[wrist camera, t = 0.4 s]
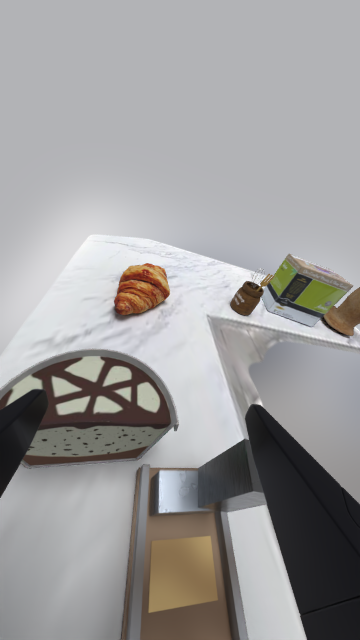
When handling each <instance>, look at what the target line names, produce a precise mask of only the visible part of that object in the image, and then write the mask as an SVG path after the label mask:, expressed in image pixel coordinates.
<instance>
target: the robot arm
mask: <svg viewBox="0 0 360 640" xmlns="http://www.w3.org/2000/svg"><path fill="white" fill-rule="evenodd" d="M48 405H49V401H48V397H47V393H46V390H44V389H32V390H30V391H29V392H27V393H26V394H24V395H23V396H21V397H20V398H18V399H16V400H15V401H13V402H12V403H10V404H9V405H7V406H6V407H4V408H2V409H1V410H0V498H1V496H2V494H3V492H4V491H5V489H6V487H7V486H8V484H9V482H10V480H11V479H12V477H13V475H14V473H15V472H16V470H17V468H18V467H19V465H20V463H21V461H22V460H23V458H24V456H25V454H26V453H27V451H28V449H29V447H30V445H31V443H32V441H33V439H34V437H35V434H36V432H37V430H38V428H39V426H40V424H41V421H42V419H43V417H44V415H45V413H46V411H47V408H48ZM245 421H246V426H247V431H248V436H249V441H250V446H251V451H252V455H253V459H254V462H255V466H256V469H257V473H258V476H259V479H260V483H261V486H262V489H263V493H264V496H265V499H266V503H267V506H268V509H269V513H270V516H271V519H272V523H273V526H274V530H275V533H276V536H277V540H278V543H279V546H280V550H281V553H282V556H283V560H284V563H285V566H286V570H287V573H288V576H289V580H290V583H291V587H292V590H293V593H294V597H295V600H296V603H297V607H298V610H299V613H300V614H301V615H300V617H301V621H302V624H303V627H304V631H305V634H306V637H307V640H360V504H359V503H358V502H357V501H356V500H355V499H354V498H353V497H352V496H351V495H350V494H349V493H348V492H347V491H346V490H345V489H344V488H342V487H341V486H340V484H339V483H338V482H337V481H336V480H335V479H334V478H333V477H332V476H331V475H330V474H329V473H328V472H327V471H326V470H325V469H324V468H323V467H322V466H321V465H320V464H319V463H318V462H317V461H316V460H315V459H314V458H313V457H312V456H311V455H310V454H309V453H308V452H307V451H306V450H305V449H304V448H303V447H302V446H301V445H300V444H299V443H298V442H297V441H296V440H295V439H294V438H293V437H292V436H291V435H290V434H289V433H288V432H287V431H286V430H285V429H284V428H283V427H282V426H281V425H280V424H279V423H278V422H277V421H276V420H275V419H274V418H273V417H272V416H271V415H270V414H269V413H268V412H267V411H266V410H265V409H264V408H263V407H262V406H261V405H258V404H252V405H250V407H249V409H248V411H247V413H246V416H245Z"/></svg>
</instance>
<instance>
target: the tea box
mask: <svg viewBox="0 0 360 640" xmlns="http://www.w3.org/2000/svg"><path fill="white" fill-rule="evenodd" d="M274 276H275V277H274V278H273V279H272V280H271V281H270V282H269V283H268V285H267V286H266V287H265V289H264V293H263V295H262V296H261V297H262V299H263V302H264V304H265V306H266V308H267V310H268V311H269V312H272V313H275V314H278V315H281V316H283V317H286V318H289V319H292V320H295V321H297V322H300V323H303V324H306V325H308V326H311V327H313V326H314V325H315V324H316V323H317V322H318V321H319V320H320V319H321V318H322V317H323V316H324V315H325V314H326V313H327V312H328V311H329V310H330V309H331V308H332V307H333V306H334V305H335V304H336V303H337V302H338V301H339V300H340V299H341V298H342V297H343V296H344V295H345V294H346V293H347V292H348V291H349V290H350V289H351V288H352V287H353V285H351V284H350V283H349V282H347V281H345V280H344V279H343V278H342V277H341V276H339V275H338V274H336V273H335V272H334V271H332V270H330V269H327V268H324V267H322V266H319V265H317V264H314V263H312V262H309V261H307V260H304V259H302V258H299V257H296V256H294V255H291V254H289V255H288V256H287V257H286V258H285V260H284V261H283V263H282V264H281V266H280V267H279V269H278V270H277V272H276V273H275V275H274Z"/></svg>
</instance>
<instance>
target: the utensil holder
mask: <svg viewBox="0 0 360 640" xmlns="http://www.w3.org/2000/svg"><path fill="white" fill-rule="evenodd" d="M255 273H256V272H255ZM255 273H254V274H255ZM257 275H258V274H257ZM269 275H270V274H268V275H267V276H266V278H265V279H264V280H263V281H262V282H261V281H260V282H261V283H260V282H259V283H260V285H261V286H259V285H258V284H259V283H258V284H255V283H253V282H254V281H255V280H254V281H253V282H250V281H246V282H245V283H244V284H243V287H241V288H240V289H239V290H238V291H237V293H236V294H235V296H234V298H233V299H232V301H231V307H232V308H233V310H234V311H236V312H237V313H239V314H241V315H249V314H250V313H251V312H252V311H253V310H254V309H255V307H256V306H257V304H258V303H259V301H260V297H261V296H262V295H263V293H264V290H263V289H262V287H263V286H267V285H268V283H269V282H270V281H271V280H272V279H273V278H274V277H275V276H273V275H271V276H270V277H269ZM253 276H254V275H253ZM272 276H273V277H272ZM255 277H257V276H255ZM263 277H264V275H263ZM263 277H262V279H263ZM268 277H269V278H268ZM271 277H272V278H271ZM267 278H268V279H267ZM270 278H271V279H270ZM252 279H253V277H252ZM255 279H256V278H255ZM258 279H259V278H258ZM266 279H267V280H266ZM269 279H270V280H269ZM265 280H266V281H265ZM268 280H269V281H268ZM258 281H259V280H258ZM264 281H265V282H264ZM267 281H268V282H267Z"/></svg>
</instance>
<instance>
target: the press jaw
mask: <svg viewBox="0 0 360 640" xmlns="http://www.w3.org/2000/svg"><path fill="white" fill-rule="evenodd" d="M266 504H267V503H266V499H265V496H264V493H263V489H262V486H261V483H260V479H259V476H258V473H257V469H256V466H255V462H254V459H253V455H252V451H251V446H250V441H249V440H247V439H244V440H242V441H241V442H239V443H237V444H236V445H234V446H233V447H231V448H230V449H228V450H226V451H225V452H223V453H222V454H220V455H218V456H217V457H215V458H214V459H212V460H211V461H209V462H207V463H206V464H204V465H203V466H201V467H199V468H198V471H180V470H160V471H158V472H157V473H156V474H155V475H154V476H153V477H152V478H151V493H150V514H149V516H168V515H187V514H205V513H215V512H219V511H221V512H231V511H236V510H241V509H246V508H251V507H256V506H261V505H266Z"/></svg>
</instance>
